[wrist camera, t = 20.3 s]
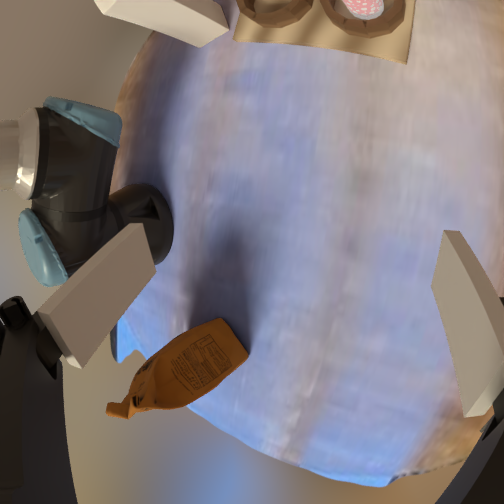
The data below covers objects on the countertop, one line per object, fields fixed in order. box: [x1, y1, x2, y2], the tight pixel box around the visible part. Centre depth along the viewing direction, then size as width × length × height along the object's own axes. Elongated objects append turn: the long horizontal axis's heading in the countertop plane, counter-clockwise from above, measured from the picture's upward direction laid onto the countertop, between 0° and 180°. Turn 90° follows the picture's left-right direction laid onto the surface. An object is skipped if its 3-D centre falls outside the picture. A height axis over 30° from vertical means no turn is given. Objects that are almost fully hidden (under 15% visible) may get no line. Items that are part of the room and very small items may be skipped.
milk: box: [94, 0, 229, 48], centre depth 30 cm, size 6×6×22 cm
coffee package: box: [106, 318, 248, 419], centre depth 42 cm, size 10×12×22 cm
